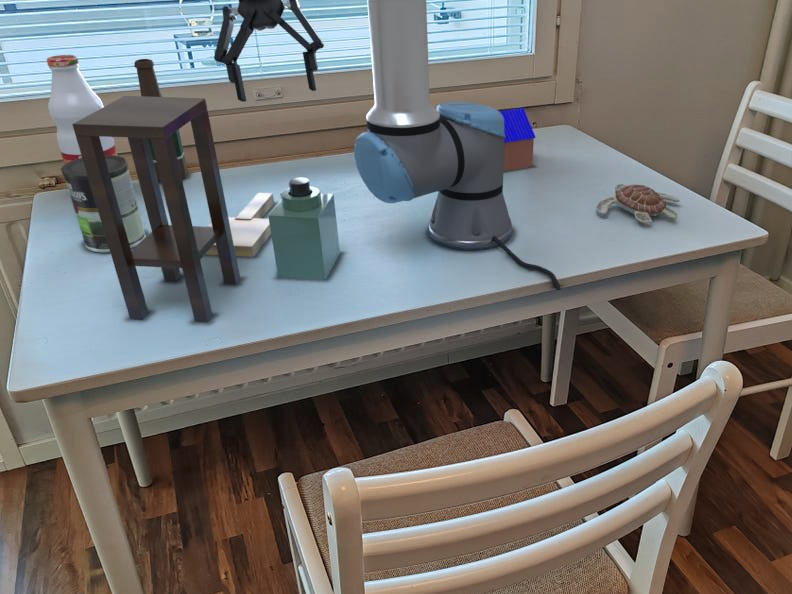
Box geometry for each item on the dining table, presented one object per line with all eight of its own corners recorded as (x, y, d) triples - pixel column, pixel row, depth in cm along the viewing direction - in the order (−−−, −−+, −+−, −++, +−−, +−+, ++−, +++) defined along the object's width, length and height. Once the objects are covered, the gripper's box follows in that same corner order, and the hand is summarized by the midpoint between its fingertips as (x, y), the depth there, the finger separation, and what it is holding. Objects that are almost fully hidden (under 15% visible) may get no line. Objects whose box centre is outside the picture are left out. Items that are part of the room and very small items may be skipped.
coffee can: (99, 258, 127) (74, 179, 119) (76, 240, 133) (51, 164, 125) (156, 241, 133) (137, 165, 125) (132, 224, 139) (112, 150, 131)
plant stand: (207, 322, 110) (162, 127, 94) (129, 318, 111) (71, 124, 94) (240, 279, 121) (205, 98, 105) (169, 275, 122) (124, 95, 106)
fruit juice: (134, 196, 151) (95, 50, 135) (125, 214, 143) (83, 62, 127) (85, 199, 149) (40, 52, 134) (73, 218, 142) (24, 64, 126)
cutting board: (253, 257, 128) (251, 245, 127) (192, 254, 129) (189, 242, 128) (293, 204, 148) (292, 193, 147) (240, 202, 149) (238, 191, 148)
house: (432, 164, 169) (430, 112, 162) (508, 151, 176) (510, 101, 170) (455, 180, 160) (454, 126, 153) (534, 166, 168) (537, 114, 161)
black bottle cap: (307, 199, 117) (305, 184, 116) (288, 198, 118) (285, 184, 116) (313, 191, 120) (311, 177, 119) (293, 190, 120) (291, 176, 119)
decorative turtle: (653, 190, 156) (656, 167, 153) (701, 220, 143) (705, 195, 141) (577, 202, 150) (579, 179, 147) (620, 234, 137) (623, 209, 135)
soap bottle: (325, 280, 121) (316, 205, 114) (278, 277, 122) (266, 203, 115) (340, 253, 130) (332, 182, 122) (295, 251, 130) (285, 180, 123)
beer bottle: (176, 184, 157) (149, 65, 143) (143, 181, 158) (113, 63, 144) (195, 172, 163) (171, 57, 150) (163, 169, 164) (136, 55, 151)
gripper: (326, -30, 139) (346, 88, 143) (196, -9, 140) (220, 107, 144) (317, -43, 131) (338, 81, 135) (180, -22, 132) (205, 101, 136)
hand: (277, 95), depth 139 cm, fingers open, 13 cm apart
